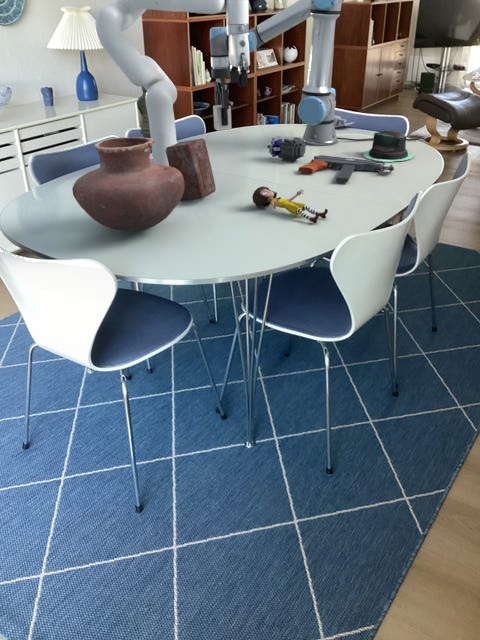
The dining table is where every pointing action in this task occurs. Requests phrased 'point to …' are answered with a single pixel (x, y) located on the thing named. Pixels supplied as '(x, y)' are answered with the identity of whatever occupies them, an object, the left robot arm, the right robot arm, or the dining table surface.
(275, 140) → the toy
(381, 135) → the dark porkpie hat
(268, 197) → the figurine
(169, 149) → the rough terracotta slab
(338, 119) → the camera
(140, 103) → the statue
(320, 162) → the submachine gun
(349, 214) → the dining table surface
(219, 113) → the brick
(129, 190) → the clay pot
